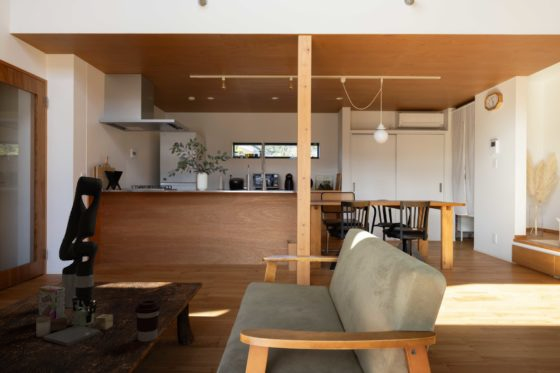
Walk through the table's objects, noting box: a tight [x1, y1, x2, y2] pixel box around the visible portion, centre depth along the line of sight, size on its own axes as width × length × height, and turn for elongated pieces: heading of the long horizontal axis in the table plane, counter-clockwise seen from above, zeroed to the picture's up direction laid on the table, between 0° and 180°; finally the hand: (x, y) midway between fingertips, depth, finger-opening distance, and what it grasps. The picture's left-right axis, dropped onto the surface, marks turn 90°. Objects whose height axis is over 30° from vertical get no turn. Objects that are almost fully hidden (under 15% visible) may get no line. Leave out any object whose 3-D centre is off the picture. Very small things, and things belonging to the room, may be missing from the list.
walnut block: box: [50, 316, 68, 333], centre depth 162 cm, size 4×6×4 cm, turn 135°
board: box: [42, 325, 102, 347], centre depth 154 cm, size 15×15×1 cm
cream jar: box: [35, 316, 51, 338], centre depth 156 cm, size 5×5×7 cm
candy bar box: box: [38, 285, 66, 320], centre depth 169 cm, size 11×5×16 cm, turn 71°
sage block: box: [73, 308, 95, 327], centre depth 168 cm, size 4×7×6 cm, turn 155°
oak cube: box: [94, 313, 114, 331], centre depth 164 cm, size 5×5×5 cm
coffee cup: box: [134, 299, 162, 343], centre depth 152 cm, size 10×10×15 cm
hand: (83, 321), depth 168 cm, fingers open, 5 cm apart
